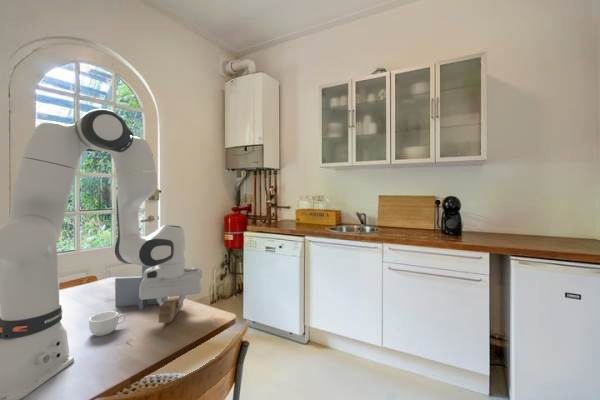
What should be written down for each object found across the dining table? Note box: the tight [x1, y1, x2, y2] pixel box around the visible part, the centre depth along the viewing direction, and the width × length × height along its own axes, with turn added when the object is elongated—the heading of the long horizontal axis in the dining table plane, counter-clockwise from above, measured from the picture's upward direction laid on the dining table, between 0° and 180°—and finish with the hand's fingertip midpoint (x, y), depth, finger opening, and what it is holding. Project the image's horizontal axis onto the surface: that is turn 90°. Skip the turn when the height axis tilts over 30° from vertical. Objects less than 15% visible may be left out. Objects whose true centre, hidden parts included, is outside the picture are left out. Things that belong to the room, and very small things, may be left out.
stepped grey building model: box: [114, 266, 169, 309], centre depth 113 cm, size 6×19×18 cm, turn 99°
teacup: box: [88, 310, 126, 337], centre depth 92 cm, size 10×8×5 cm
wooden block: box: [158, 296, 184, 324], centre depth 102 cm, size 16×4×6 cm, turn 7°
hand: (171, 308), depth 101 cm, fingers closed on wooden block, 4 cm apart
